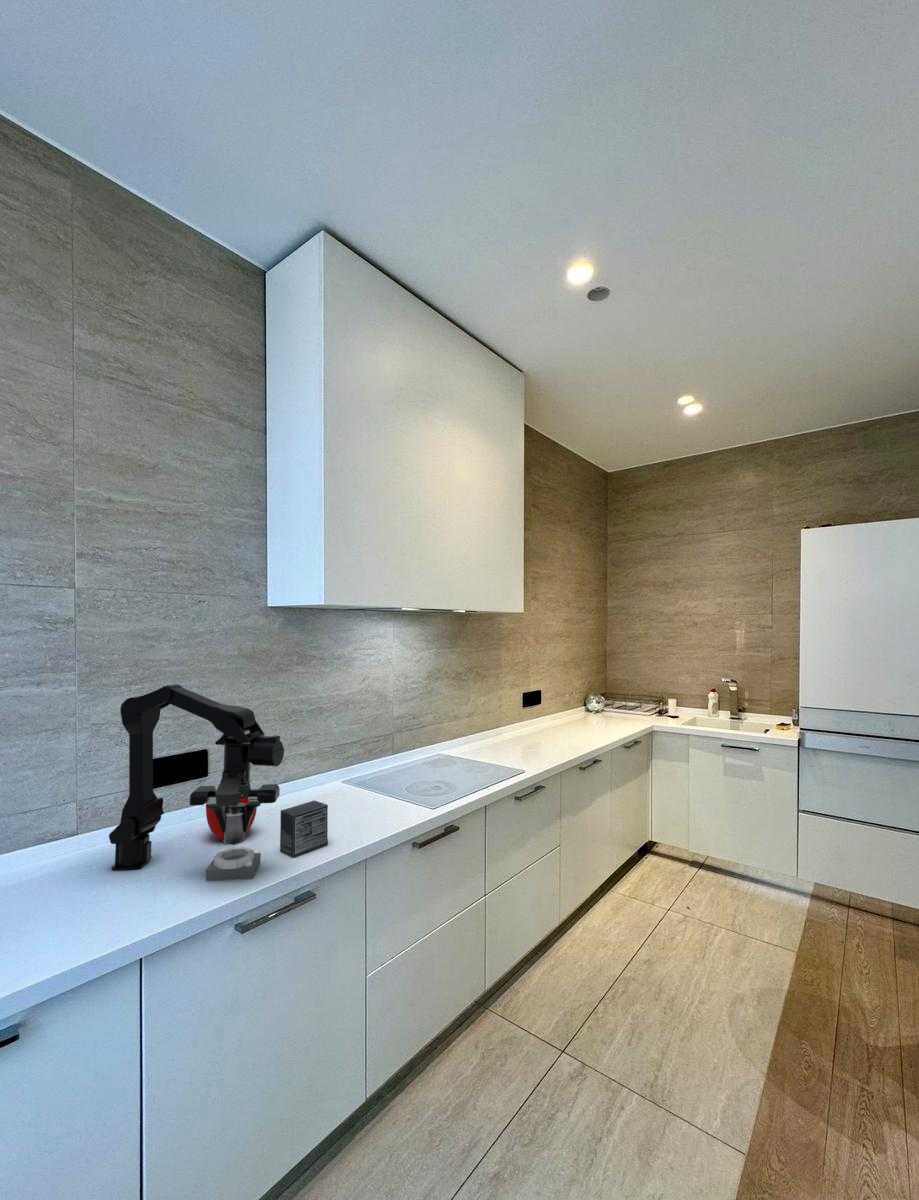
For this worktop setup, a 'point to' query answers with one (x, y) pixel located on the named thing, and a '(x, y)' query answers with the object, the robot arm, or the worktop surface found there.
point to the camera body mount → (233, 864)
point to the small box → (303, 828)
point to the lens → (234, 824)
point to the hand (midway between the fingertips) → (234, 832)
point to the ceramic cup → (215, 824)
